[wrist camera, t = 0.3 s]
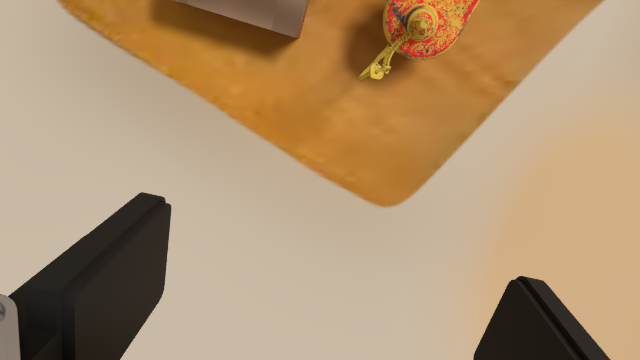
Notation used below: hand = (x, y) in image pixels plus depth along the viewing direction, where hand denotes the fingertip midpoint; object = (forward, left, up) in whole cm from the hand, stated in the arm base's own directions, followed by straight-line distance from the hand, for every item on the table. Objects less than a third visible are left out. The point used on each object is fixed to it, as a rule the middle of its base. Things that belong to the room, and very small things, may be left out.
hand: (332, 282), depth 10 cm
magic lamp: (-11, +6, -31) cm, 33 cm away
